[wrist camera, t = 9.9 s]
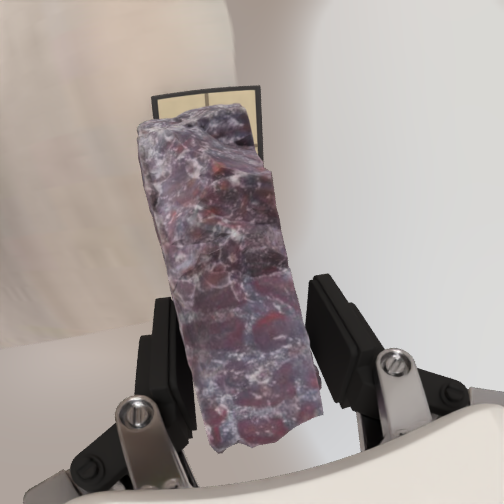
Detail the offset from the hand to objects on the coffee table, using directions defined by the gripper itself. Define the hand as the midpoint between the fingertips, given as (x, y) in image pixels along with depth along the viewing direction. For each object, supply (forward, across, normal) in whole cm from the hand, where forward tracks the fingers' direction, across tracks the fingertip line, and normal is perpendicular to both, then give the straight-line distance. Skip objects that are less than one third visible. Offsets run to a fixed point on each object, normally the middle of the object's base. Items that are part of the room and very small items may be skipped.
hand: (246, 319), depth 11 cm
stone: (+5, 0, 0) cm, 5 cm away
